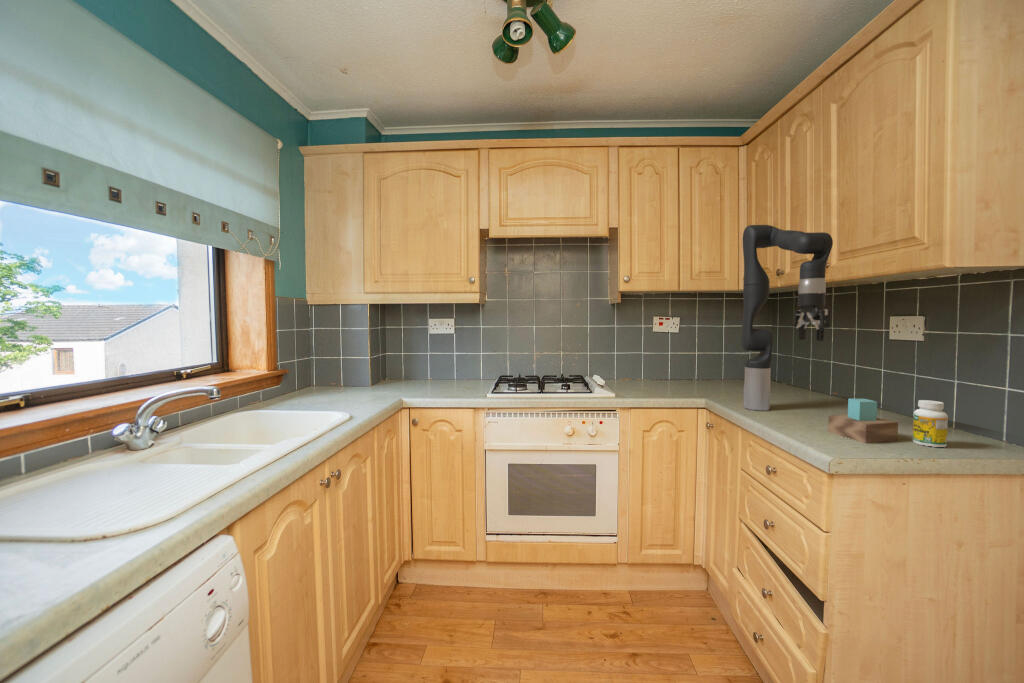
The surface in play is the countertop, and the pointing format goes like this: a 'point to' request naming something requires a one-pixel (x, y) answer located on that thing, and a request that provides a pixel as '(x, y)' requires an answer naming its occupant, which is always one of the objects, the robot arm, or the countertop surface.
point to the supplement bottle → (930, 424)
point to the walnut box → (863, 429)
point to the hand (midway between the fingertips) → (810, 340)
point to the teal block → (862, 409)
